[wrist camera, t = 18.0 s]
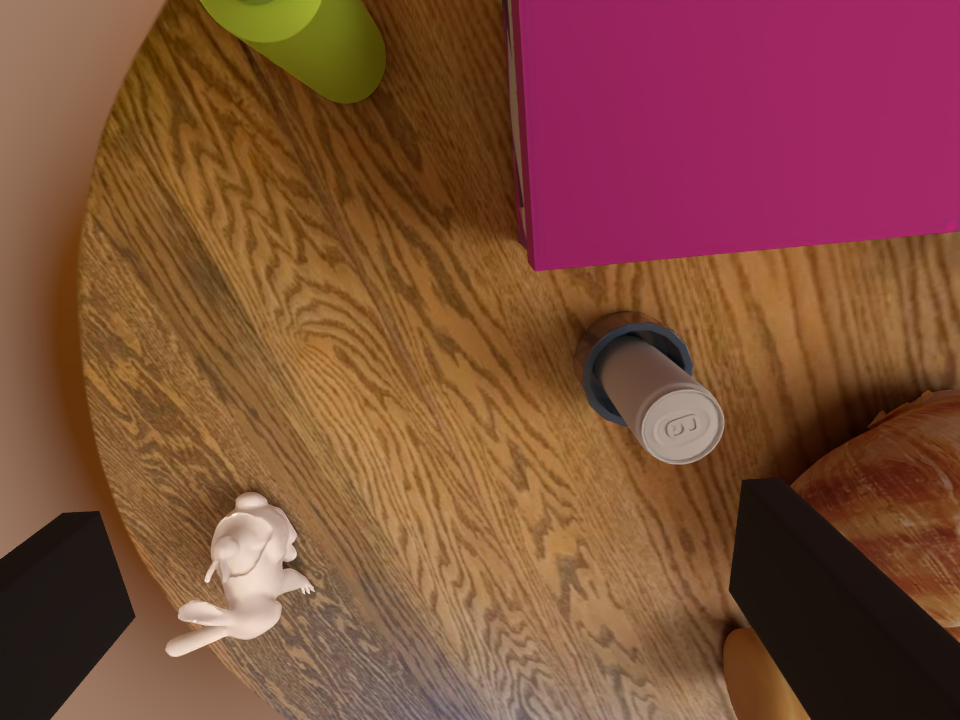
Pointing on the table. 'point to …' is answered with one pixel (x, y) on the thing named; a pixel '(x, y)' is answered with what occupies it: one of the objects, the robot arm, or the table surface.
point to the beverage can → (659, 401)
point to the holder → (615, 327)
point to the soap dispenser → (311, 41)
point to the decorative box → (729, 125)
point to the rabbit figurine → (244, 575)
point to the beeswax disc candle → (757, 681)
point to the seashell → (901, 499)
